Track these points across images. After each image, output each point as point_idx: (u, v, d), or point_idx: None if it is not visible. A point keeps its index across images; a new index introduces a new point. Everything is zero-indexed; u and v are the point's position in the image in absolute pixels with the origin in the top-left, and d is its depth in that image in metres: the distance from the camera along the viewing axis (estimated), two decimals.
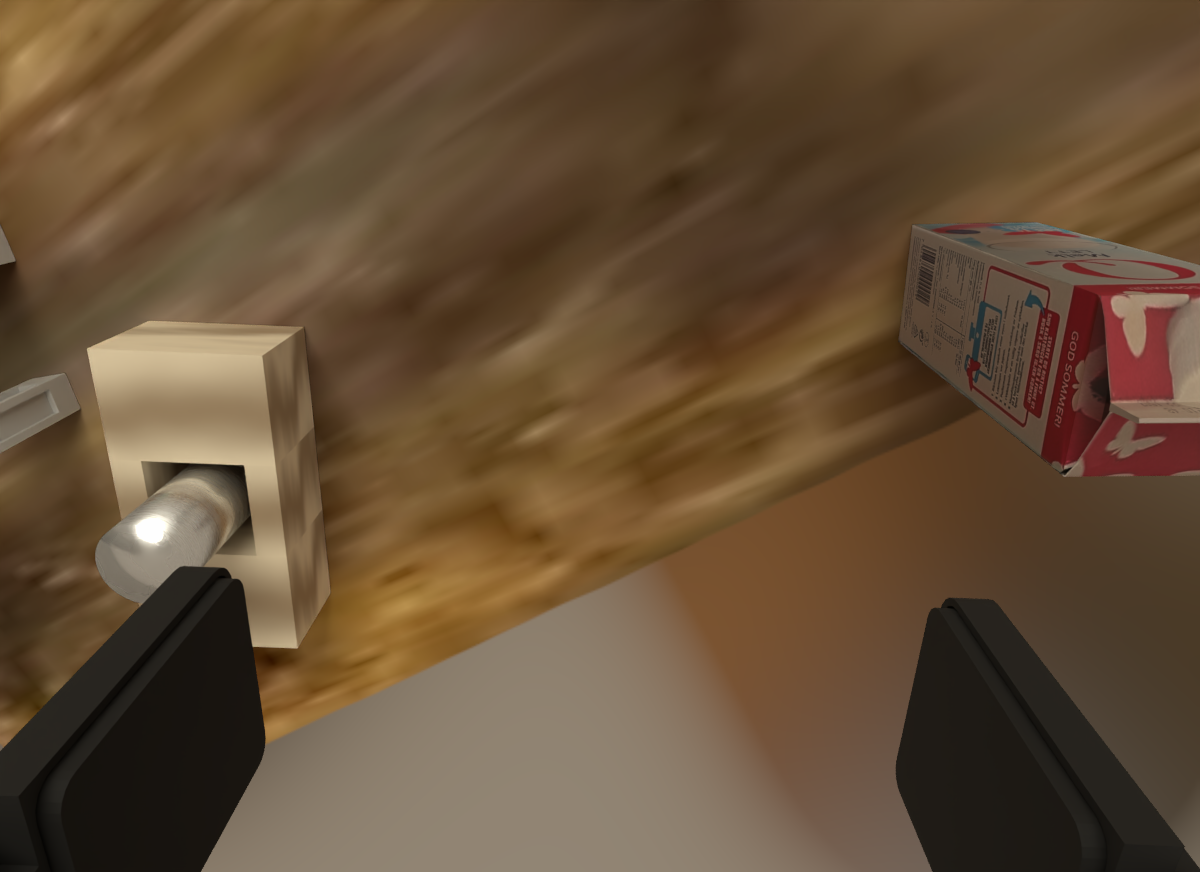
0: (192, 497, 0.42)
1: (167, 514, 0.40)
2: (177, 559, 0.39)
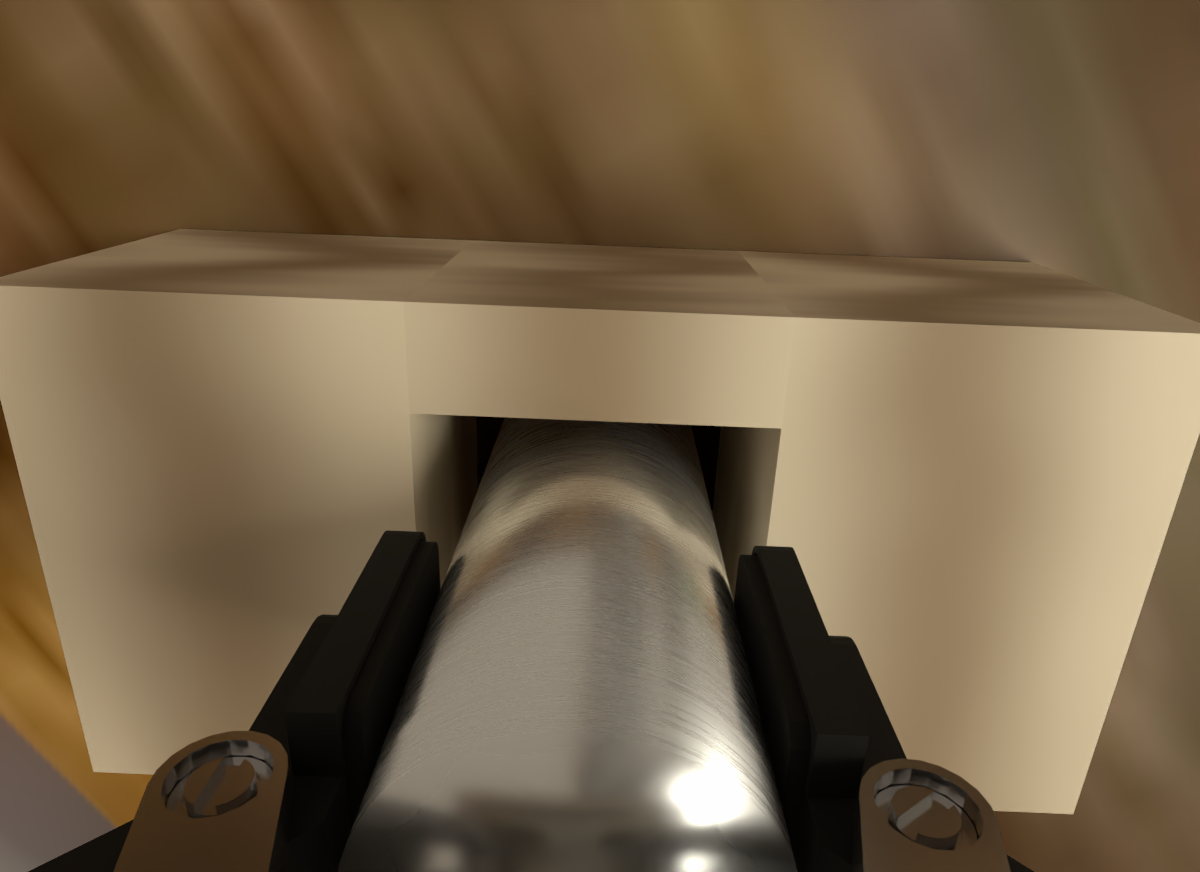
0: None
1: None
2: None
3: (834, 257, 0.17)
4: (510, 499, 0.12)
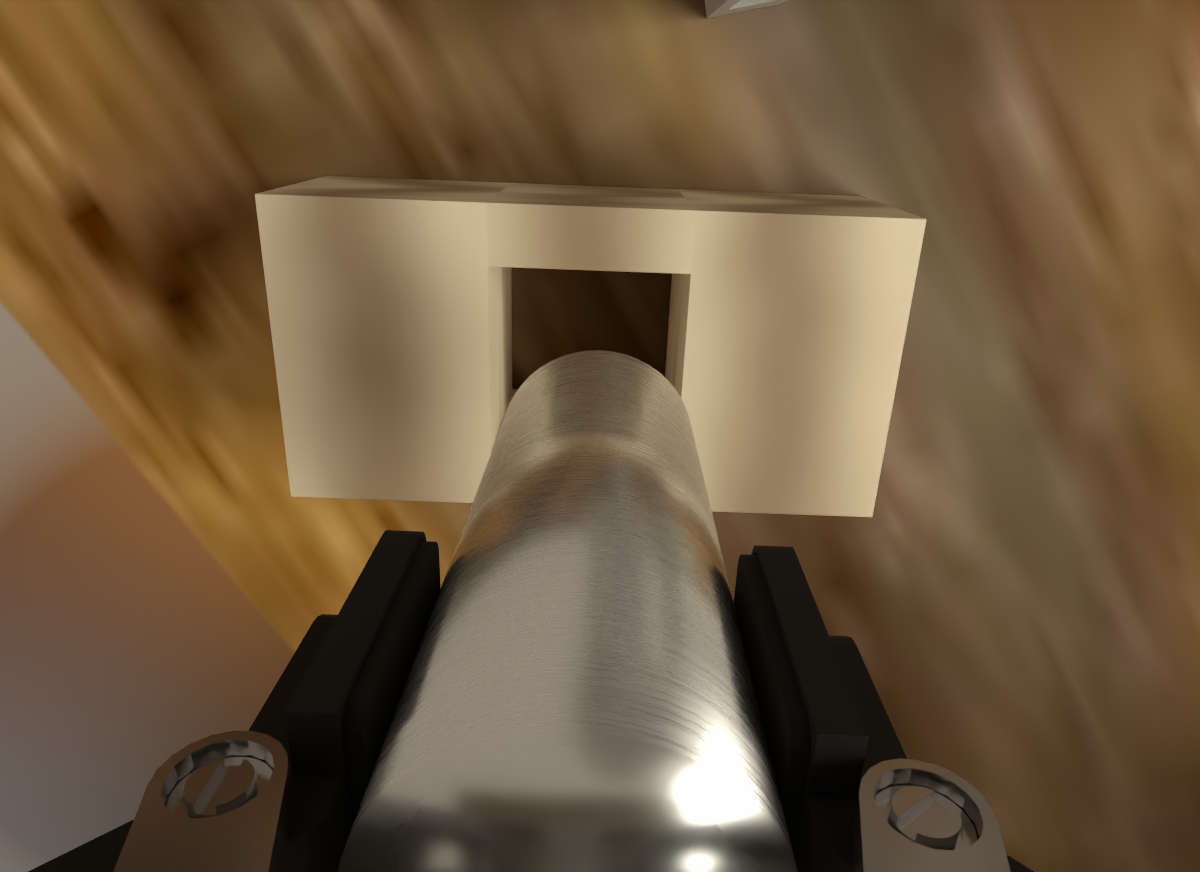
0: None
1: None
2: None
3: (737, 192, 0.27)
4: (510, 498, 0.12)
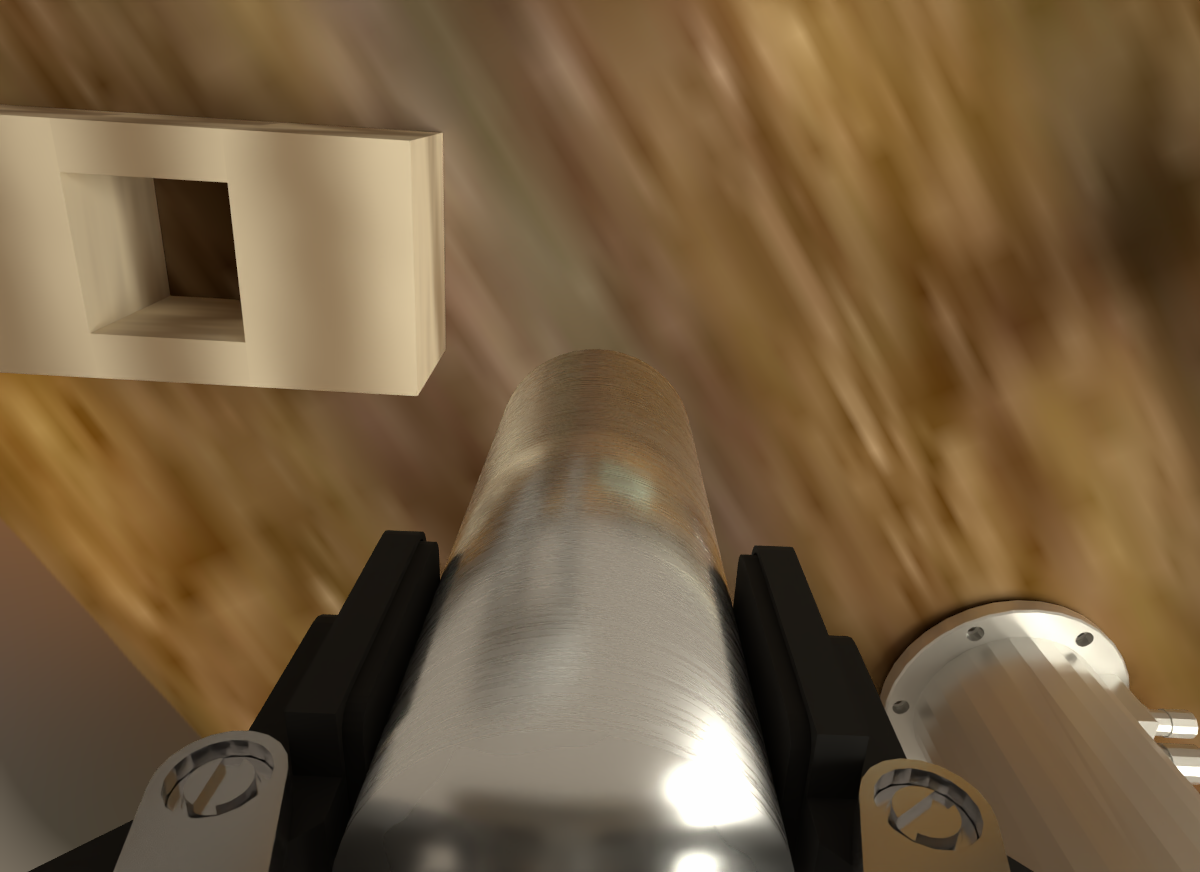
0: None
1: None
2: None
3: (332, 126, 0.32)
4: (507, 497, 0.12)
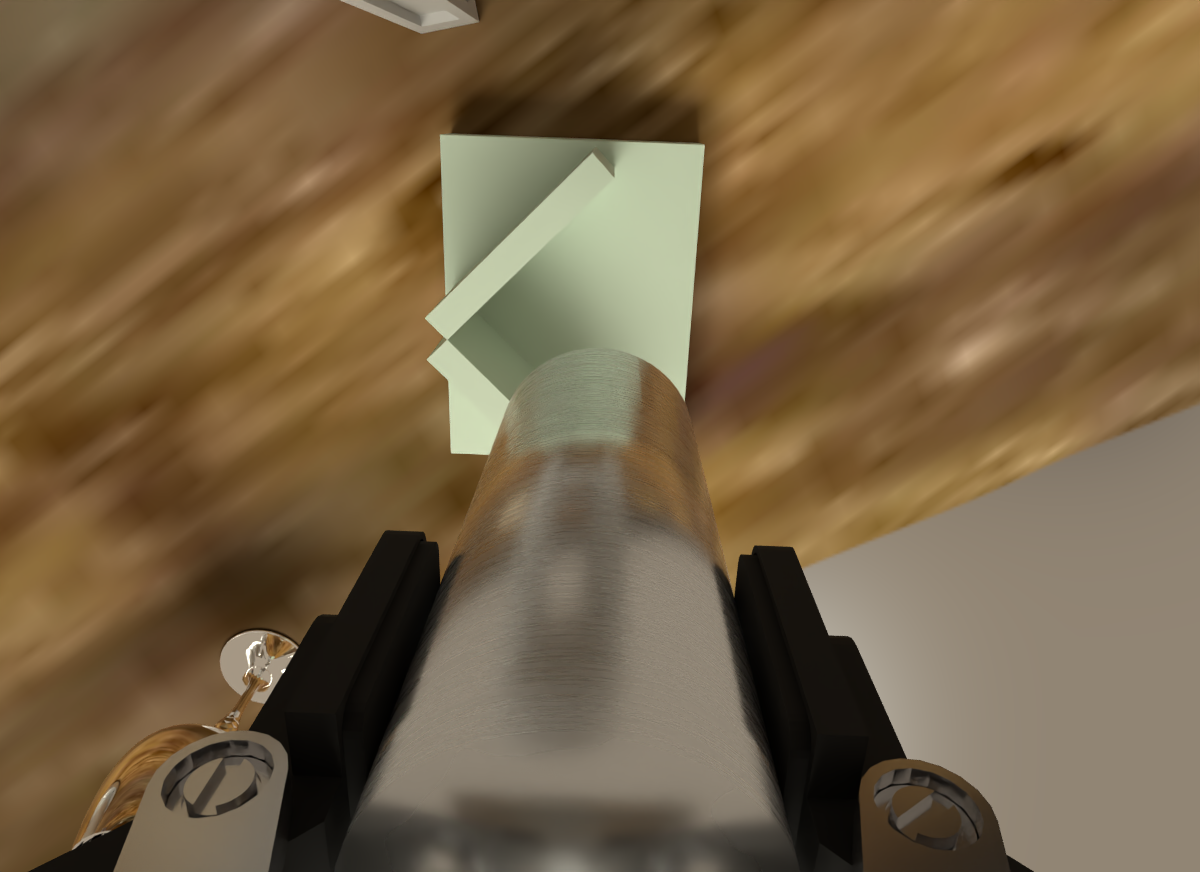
0: None
1: None
2: None
3: None
4: (509, 496, 0.12)
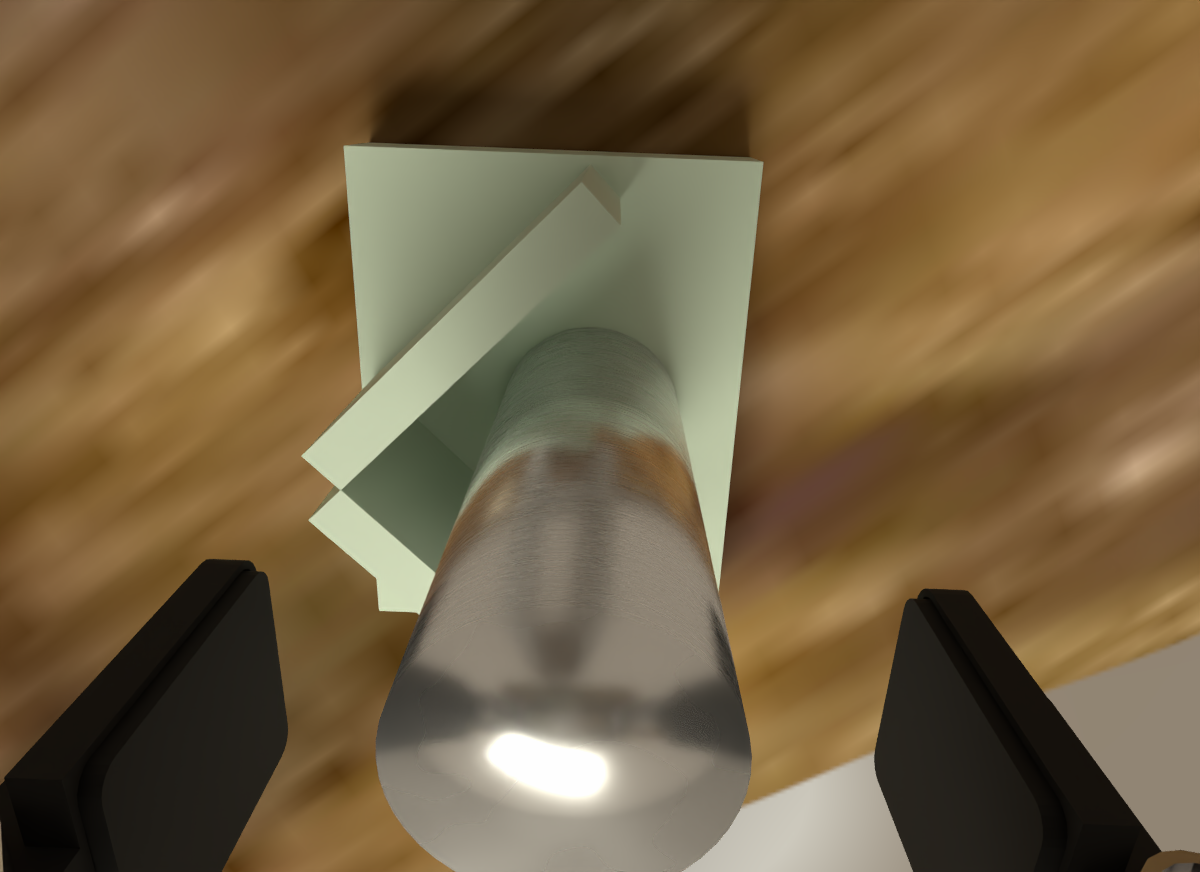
0: None
1: None
2: None
3: None
4: (514, 447, 0.14)
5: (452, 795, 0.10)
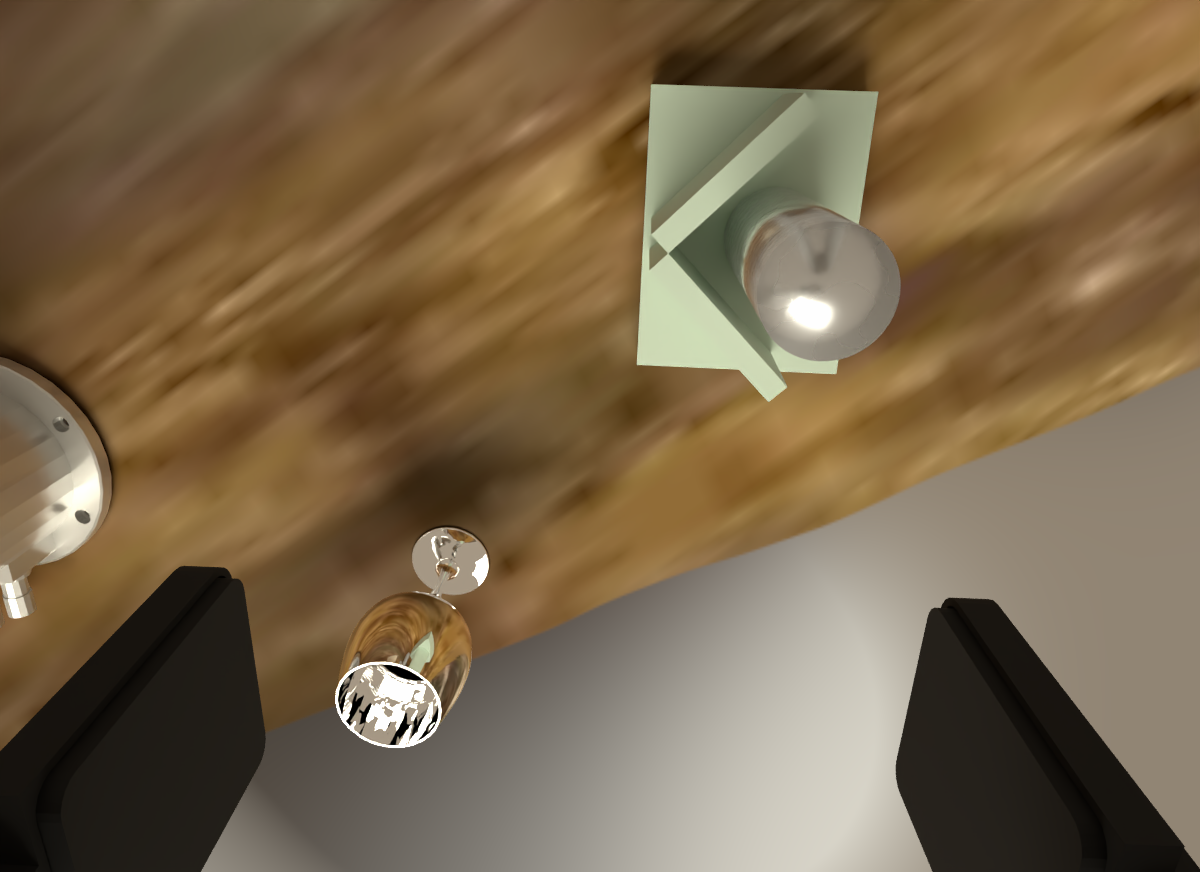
0: None
1: None
2: (833, 350, 0.26)
3: None
4: (774, 211, 0.30)
5: (783, 307, 0.26)
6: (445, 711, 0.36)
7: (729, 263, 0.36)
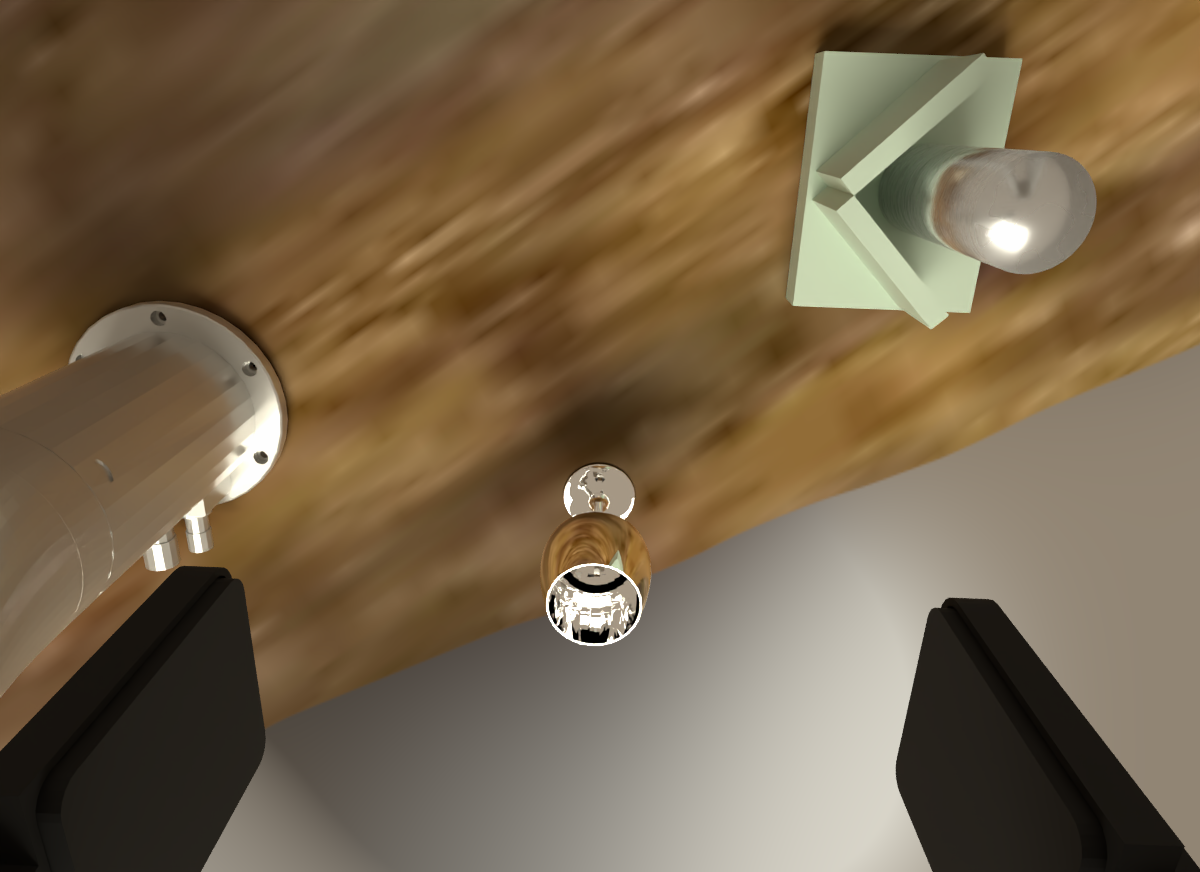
0: None
1: None
2: (1034, 264, 0.31)
3: None
4: (960, 154, 0.34)
5: (996, 226, 0.30)
6: (641, 611, 0.40)
7: (886, 210, 0.41)
